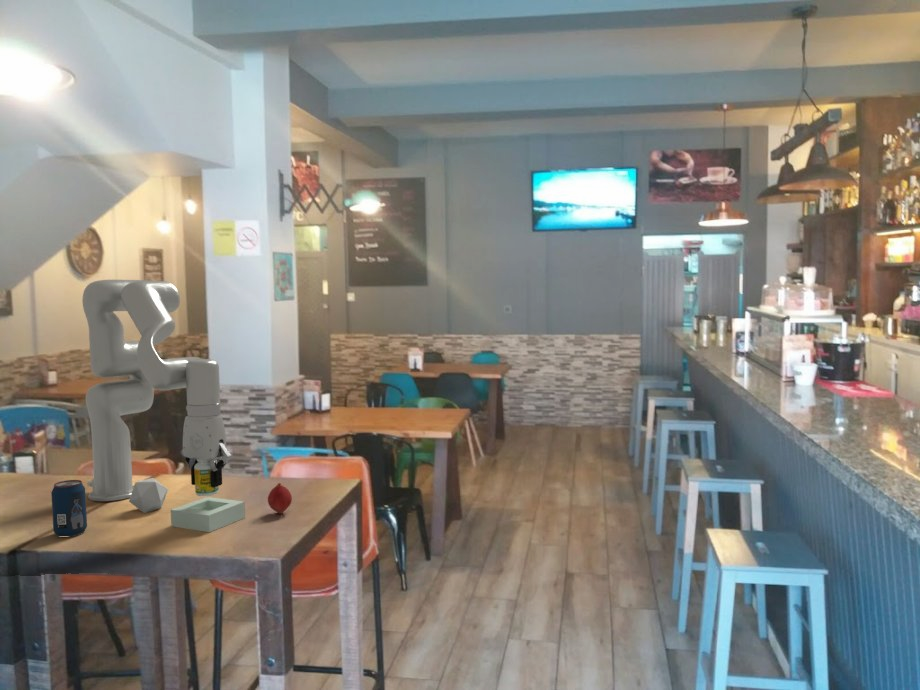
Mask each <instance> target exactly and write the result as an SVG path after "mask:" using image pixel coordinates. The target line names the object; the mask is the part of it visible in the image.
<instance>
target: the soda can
mask: <svg viewBox="0 0 920 690" xmlns="http://www.w3.org/2000/svg"><path fill="white" fill-rule="evenodd" d="M86 498H87V497H86V488H85V485H84V484H83V481H82V480H80V479H67V480H62V481H58V482H55V483H54V484H53V488H52V491H51V508H52V509H51V510H52V512H51V514H52V526H53V528H52V529H53V530H52V531H53V533H54V534H55V535H56V536H57V535H58V536H73V537H75V536H74V535H77V536H79V535H78V534H80V535H82V534H84V533H83V532H85V531H86V529H87V527H88V517H87V502H86V501H87V499H86ZM81 533H82V534H81ZM58 536H57V537H58Z"/></svg>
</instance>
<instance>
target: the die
mask: <svg viewBox="0 0 920 690" xmlns="http://www.w3.org/2000/svg"><path fill="white" fill-rule="evenodd" d="M133 486H134V488H133V491H132V494H131V497H129V499H128V502H129V503H131V505H133V506H134V507H136V508H137V509H138V510H140V511H141V512H142V513H143V514H146V512H147V513H150V512H153V511H156V509H157V510H159V508H160V509H162V507H163V506H164V501H165V500H166V497H167V493H168V490H169V489H168V487H166V486H165V485H164V484H162V483H160V482H159V481H158V480H156V478H154V477H151V478H147V479H142V480H139V481H135V482H134V485H133Z"/></svg>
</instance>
